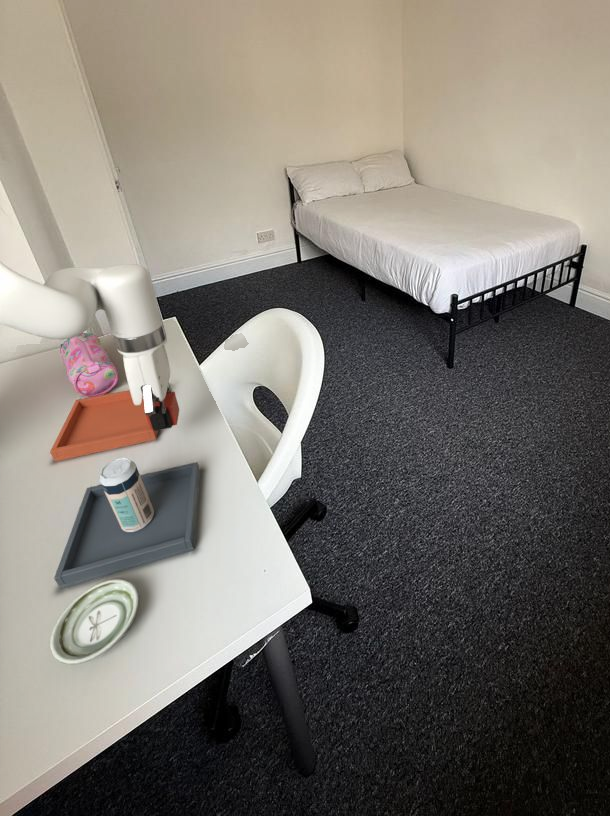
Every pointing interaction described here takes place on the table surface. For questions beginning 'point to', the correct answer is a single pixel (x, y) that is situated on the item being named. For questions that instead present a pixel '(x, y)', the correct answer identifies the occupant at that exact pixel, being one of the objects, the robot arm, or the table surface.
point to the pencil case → (88, 365)
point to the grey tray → (119, 550)
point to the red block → (170, 405)
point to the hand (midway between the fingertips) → (164, 417)
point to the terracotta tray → (102, 426)
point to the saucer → (94, 622)
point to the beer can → (126, 494)
